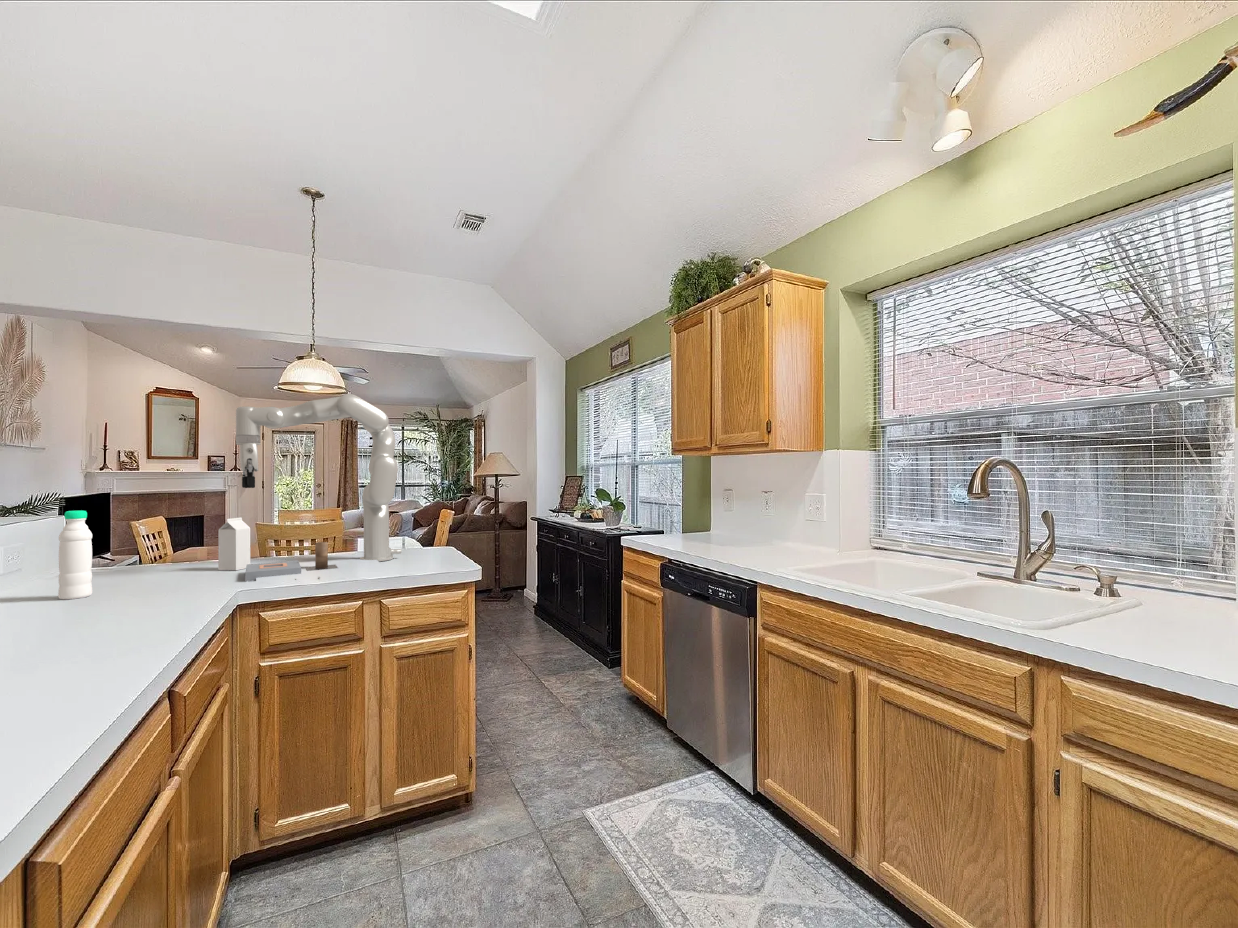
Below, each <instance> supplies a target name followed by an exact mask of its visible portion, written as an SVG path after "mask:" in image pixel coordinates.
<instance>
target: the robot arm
mask: <svg viewBox="0 0 1238 928" xmlns="http://www.w3.org/2000/svg"><path fill="white" fill-rule="evenodd" d="M347 418H351V419H353V420H355V421H357V422H358V423H360V424H361V425H362V427H363V429H364V430H365V431H367V432H368V433H369V434H370V435H371V438H372V447H371V452H370V454H371V455H370V458H369V463H368V472H369V474H370V478H369V479H370V481H369V483H368V484H367V485H366V486H364V489H363V491H362V496H361V497H362V508H363V511H362V512H363V556H360V557H359V560H363V561H377V562H386V561H387V562H388V561H391V560H393V559H394V555H395V554H396V555H398V554H399V555H401V554H402V553H403V552H402V548H394V549H393V548H391V547H390V510H389V509H390V508H389V503H390V502H391V501H392V500H393V498H394V495H395V491H396V490H395V489H396V484H397V478H398V477H397V476H398V469H399V468H398V467H399V466H398V462H397V461H396V459H395V458H394V457H395V447H396V437H395V433H394V431H393V428H392V426H391V425H390V420H389V417H388V415H387V414H386V413H385V411H383V410H381V409H380V408H378V407H377V406H375V405H373V404H371V403H369V402H368V401H366V400H365V399H362V398H361V397H360V396H357V395H356V394H353V393H347V394H343V395H342V396H337V397H336V396H334V397H331V398H330V397H329V398H322V399H321V398H320V399H314V400H309V401H308V400H307V401H306V402H304V403H301V404H297V405H292V406H288V407H287V406H286V407H275V406H264V407H255V406H238V407H236V409H235V445H238V446H239V461H240V462H239V463H240V471H241V472H242V477H241V486H242V489H243V488H244V489H254V488H256V477H255V472H258V471H259V449H258V446H261V427H263V426H264V427H266V428H267V429H272V430H275V429H281V428H282V429H283V428H288V427H294V426H299V425H308V424H315V423H323V422H326V421H327V422H328V421H334V420H340V419H347Z"/></svg>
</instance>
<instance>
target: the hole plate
mask: <svg viewBox="0 0 1238 928" xmlns="http://www.w3.org/2000/svg"><path fill="white" fill-rule="evenodd" d="M301 566H302V565H301V564H300V561H299V560H287V561H275V562H263V563H262V562H261V563H250V564H247V566H246V568H245V571H244V573H245V575H244V578H245V579H244V581H245V582H256V581H257V578H268V577H278V576H288V575H289V576H291V575H300V574H301V575H302V567H301Z"/></svg>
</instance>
